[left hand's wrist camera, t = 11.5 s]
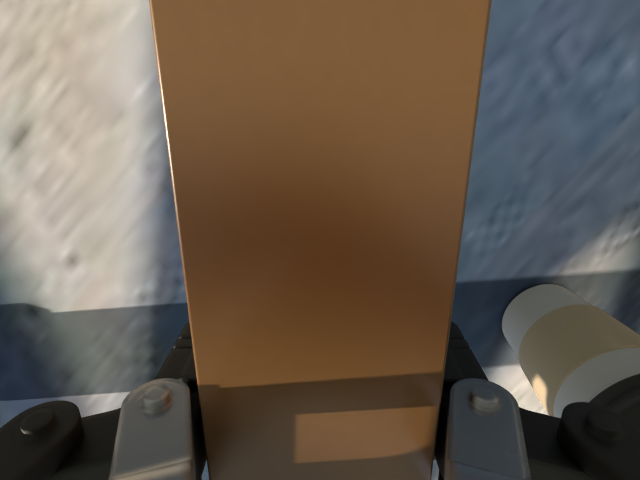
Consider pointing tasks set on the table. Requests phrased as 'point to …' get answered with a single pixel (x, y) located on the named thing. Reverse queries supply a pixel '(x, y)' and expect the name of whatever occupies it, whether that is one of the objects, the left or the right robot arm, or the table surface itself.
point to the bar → (320, 222)
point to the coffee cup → (574, 351)
